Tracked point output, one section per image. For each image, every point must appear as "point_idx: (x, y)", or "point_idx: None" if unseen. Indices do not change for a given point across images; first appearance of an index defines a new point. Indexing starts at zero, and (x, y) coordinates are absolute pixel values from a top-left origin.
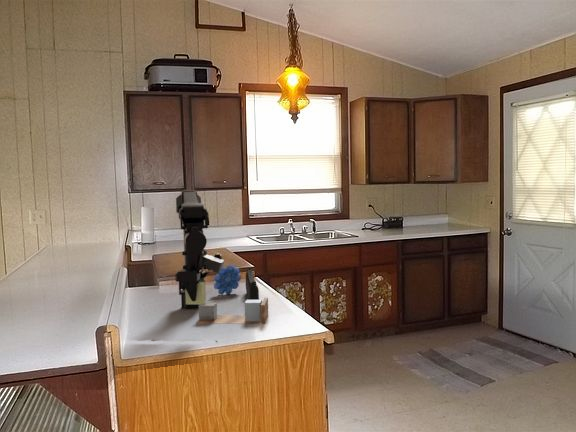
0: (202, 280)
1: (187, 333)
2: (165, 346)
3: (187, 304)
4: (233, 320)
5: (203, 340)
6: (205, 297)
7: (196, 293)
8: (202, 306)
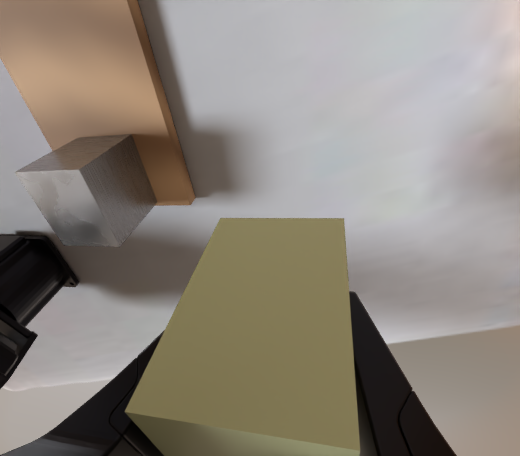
0: (115, 436)
1: (286, 205)
2: (453, 240)
3: (45, 284)
4: (73, 16)
5: (390, 101)
6: (222, 240)
7: (367, 349)
8: (112, 226)
